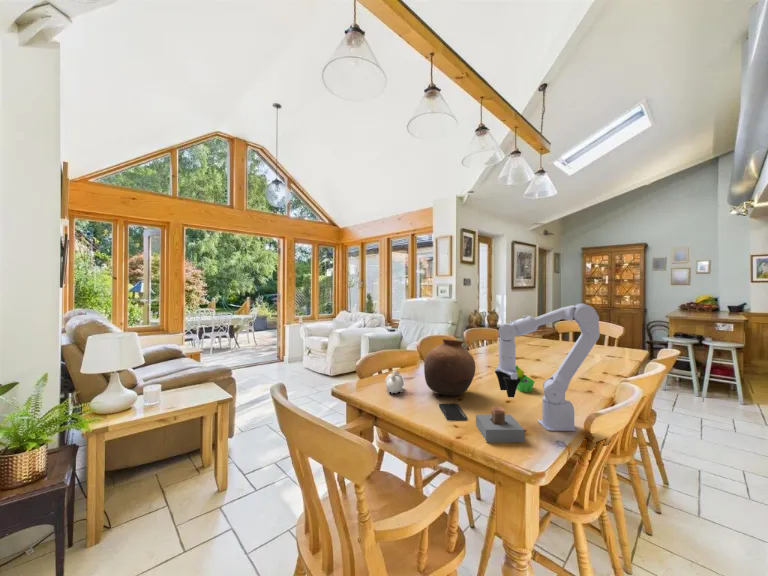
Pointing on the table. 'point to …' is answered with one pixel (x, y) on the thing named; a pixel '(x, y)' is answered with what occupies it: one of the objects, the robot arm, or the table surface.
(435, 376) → the pottery
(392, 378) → the white rounded piece
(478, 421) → the socket block
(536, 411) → the table surface
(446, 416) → the phone
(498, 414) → the peg
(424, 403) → the table surface
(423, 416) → the table surface
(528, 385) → the fruit basket
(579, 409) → the table surface
